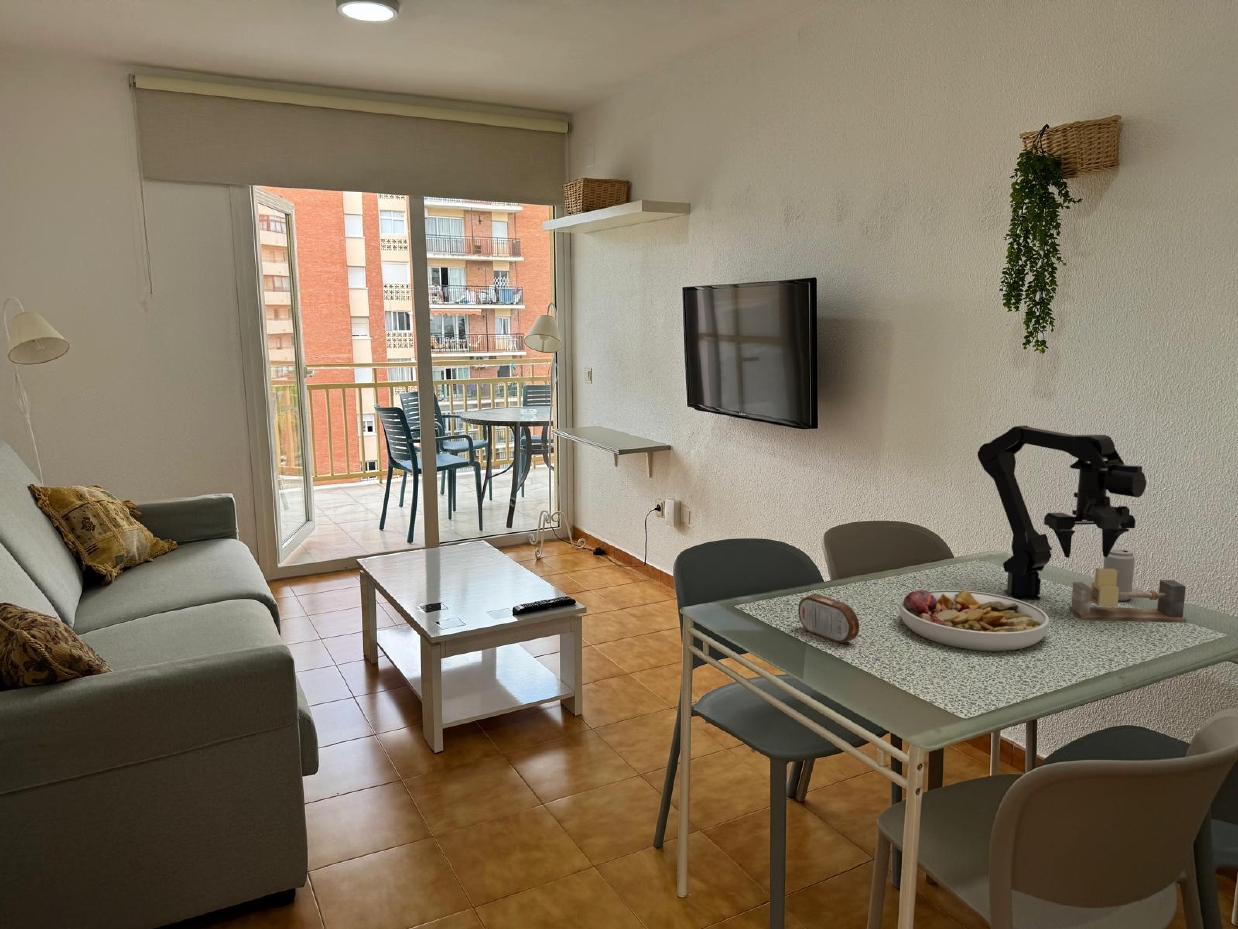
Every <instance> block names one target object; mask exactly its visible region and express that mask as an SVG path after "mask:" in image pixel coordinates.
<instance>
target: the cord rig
mask: <svg viewBox="0 0 1238 929" xmlns="http://www.w3.org/2000/svg"><path fill="white" fill-rule="evenodd" d="M1186 589H1187V587H1186V585H1184V584H1182V583H1180V582H1178V581H1176V580H1174V579H1159V585H1158V592H1157V591H1156V590H1149V591H1148V592H1140V591H1139V592H1138V591H1137V592H1135V591H1134V592H1133V591H1132V592H1119V594H1118V597H1129V598H1130V599H1131V598H1133V599H1134V598H1137V599H1138V598H1141V599H1149V600H1150V601H1156V600H1157V608H1139V607H1138V608H1136V607H1107V606H1097V607H1096V606H1094V607H1093V606H1091V602H1092V601H1091V597H1098V591H1092V588H1091V587H1090V586H1089V585H1087V584H1086V583H1084V582H1082V581H1073V582H1072V591H1071V592H1072V593H1071V594H1072V595H1071V606H1069V607H1068V609H1069V611H1070V612H1071V613H1072V614H1074V615H1075V616H1077V618H1080V619H1081V620H1082V621H1083V620H1086V621H1087V620H1089V621H1090V620H1091V621H1117V622H1120V621H1121V622H1123V621H1125V622H1129V621H1130V622H1158V623H1159V622H1161V623H1162V622H1164V623H1185V622H1186V618H1184V608H1185V596H1186Z"/></svg>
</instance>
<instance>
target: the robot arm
mask: <svg viewBox="0 0 1238 929" xmlns="http://www.w3.org/2000/svg"><path fill="white" fill-rule="evenodd" d="M1025 445H1032V446H1034V447H1035V446H1036V447H1039V448H1040V447H1042V448H1046V449H1051V450H1055V451H1060V452H1061V451H1062V452H1065V453H1067V454H1068V455H1070V456H1072V457H1074V458H1077V460H1076V461H1075V462H1074V463H1072V464H1071V465H1069V468H1070V469H1074V470H1079V473H1078V474H1079V475H1078V483H1077V484H1078V485H1077V492H1076V491H1075V492H1073V497H1074V498H1076V506H1075V507H1076V509H1072V513H1071V514H1072V515H1074V516H1072V515H1070V514H1067V513H1064V512H1047V513H1046V515H1045V516H1044V518H1043V525H1045V526H1048V529H1051V530H1053V532H1054V534H1055V536H1056V538H1057V539H1058V542H1059V544H1060V547H1061V549H1062V552H1063V554H1064V557H1065V558H1066V559H1069V558H1071V553H1072V552H1071V551H1072V539H1073V538H1072V537H1073V535H1074V534H1075V532H1076V530H1073V528H1074V527H1075V526H1076V525H1078V526H1079V525H1080V526H1081V525H1096V527H1097V529H1100V530H1101V537H1102V538H1101V548H1102V549H1101V551H1102V556H1103V558H1104V557H1108V555H1109V553H1110V551H1111V549H1112V548H1114V545H1115V544H1116V542H1117V540H1118V539H1119V537H1120V536H1121V535H1123V534H1125V533H1128V532H1130V529H1135V528H1136V520H1137V519H1136V518H1135V517H1134V515H1132V514H1130V508H1129V507H1128V506H1126V505H1119V506H1112V504H1111V496H1108V495H1107V491H1108V492H1109V494H1114V495H1119V496H1126V497H1132V498H1140V497H1141V496H1143V494H1144V493H1145V490H1146V486H1147V479H1146V475H1145V473H1144V472H1143V466H1141V465H1129V464H1128V465H1126V464H1125V462H1124V461H1123V459H1122V457H1121V456H1120V454H1119V453H1118V451H1117V450H1116V447H1115V442H1114V441H1113V439H1112V437H1110V436H1109V435H1107V434H1070V433H1063V432H1059V431H1053V430H1047V429H1042V428H1036V427H1032V426H1028V425H1016V426H1013V427H1011V428H1010V429H1009V430H1008V431H1006V432H1005V433H1003V434H1001V435H999V436H997V437H996V438H994V439H993V440H991V441H990V442H987V443H983V444H982V445H981V446H980V447H979V449H978V451H977V459H978V461H979V463H980V465H981V467H982V468H983V470H984V471H985V473H987V475H989V476H990V477H991V478H992V479H993V482H994V484H995V487H996V490H997V493H998V496H999V498H1000V502H1001V503H1002V507H1003V510H1004V513H1005V515H1006V518H1007V521H1008V523H1009V526H1010V530H1011V532H1012V541H1011V552H1012V556H1011V557H1009V558H1008V559H1007V560H1005V561H1004V562H1003V564H1002V566H1003V570H1004V572H1005V573H1007V581H1006V582H1007V584H1006V588H1004V591H1003V592H1005V593H1006V594H1007V595H1008V596H1009V598H1013V599H1017V600H1041V597H1040V595H1041V581H1042V580H1041V578H1040V572H1043V569H1044V568H1045V566H1046V565H1047V564H1048V563H1049V562H1050V560H1051V559H1052V550H1053V548H1052V547H1051V544H1050V543H1049V539H1048V535H1047V534H1046V533H1042V534H1040V533H1039V532H1038V531H1037V530H1036V529H1035V528H1034V525H1033V523H1032V518H1031V517H1030V513H1029V511H1028V507H1027V505H1026V503H1025V500H1024V497H1023V494H1022V492H1021V489H1020V486H1019V483H1018V480H1017V477H1016V474H1015V470H1016V463H1017V460H1016V454H1017V453H1018V452H1019V451H1021V450H1022V449H1023V447H1024V446H1025Z"/></svg>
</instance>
